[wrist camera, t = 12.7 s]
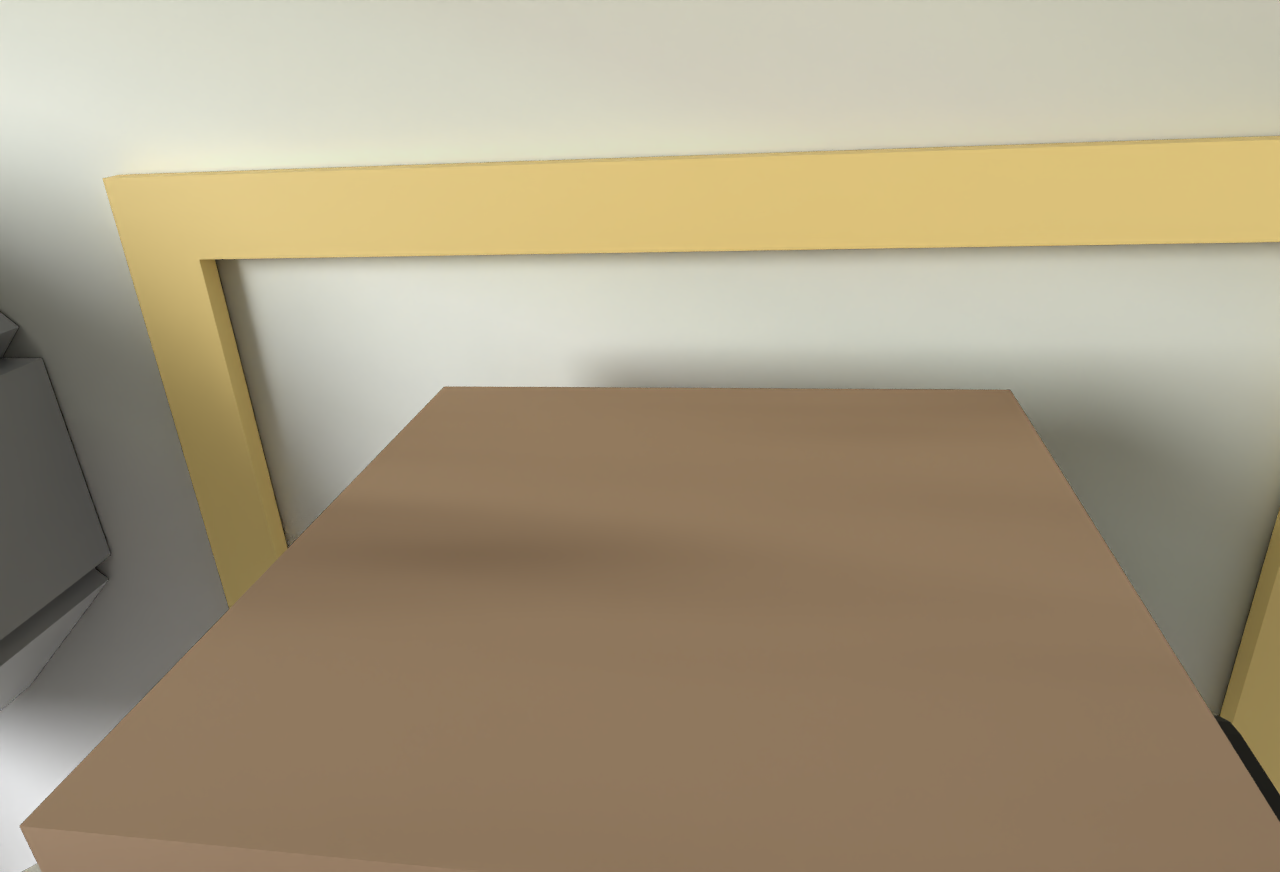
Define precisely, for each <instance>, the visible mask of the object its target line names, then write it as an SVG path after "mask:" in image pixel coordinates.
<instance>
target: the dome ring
mask: <svg viewBox="0 0 1280 872" xmlns="http://www.w3.org/2000/svg"><path fill="white" fill-rule="evenodd" d="M18 328H19V326H17V325H16V324H15V323H13V322H12V321H11V320H10V319H8V318H7V317H6V316H5V315H3V314H2V313H1V312H0V711H1V710H2V709H3V708H5V707H6V706H7V705H8V704H9V703H10V702H11V701H13V700H14V699H15V698H16V697H17V696H18V695H20V694H21V693H22V692H23V691H24V690H25V689H27V688H28V687H29V686H30V685H31V684H32V683H33V681H34V680H35V678H36V677H37V676H38V674H39V673H40V672H41V670H42V669H43V668H44V666H45V665H46V664H47V662H48V661H49V660H50V658H51V657H52V655H53V654H54V653H55V651H56V650H57V649H58V647H59V646H60V645H61V643H62V642H63V641H64V639H65V638H66V637H67V635H68V634H69V632H70V631H71V630H72V628H73V627H74V626H75V624H76V623H77V622H78V620H79V619H80V618H81V616H82V615H83V614H84V612H85V611H86V609H87V608H88V607H89V605H90V604H91V603H92V601H93V600H94V599H95V597H96V596H97V595H98V593H99V592H100V591H101V589H102V588H103V587H104V585H105V584H106V582H107V581H108V580H109V579H108V578H107V577H105V576H104V575H103V574H101V573H100V572H99V571H97V570H96V569H95V567H96V566H97V565H99V564H100V563H101V562H102V561H104V560H105V559H106V558H108V557H109V556H110V555H111V554H110V551H109V548H108V545H107V542H106V539H105V537H104V534H103V531H102V528H101V525H100V522H99V520H98V517H97V514H96V511H95V508H94V505H93V502H92V500H91V497H90V494H89V491H88V488H87V485H86V482H85V480H84V477H83V474H82V471H81V468H80V465H79V463H78V460H77V457H76V454H75V451H74V448H73V445H72V443H71V440H70V437H69V434H68V431H67V428H66V425H65V423H64V420H63V417H62V414H61V411H60V408H59V406H58V403H57V400H56V397H55V394H54V391H53V388H52V386H51V383H50V380H49V377H48V374H47V371H46V369H45V366H44V363H43V360H42V358H2V356H3V355H4V353H5V351H6V349H7V347H8V346H9V344H10V342H11V340H12V338H13V337H14V335H15V333H16V331H17V329H18Z"/></svg>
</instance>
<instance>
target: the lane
mask: <svg viewBox="0 0 1280 872" xmlns="http://www.w3.org/2000/svg"><path fill="white" fill-rule="evenodd" d="M103 182H104V185H105V189H106V192H107V195H108V199H109V202H110V206H111V209H112V212H113V216H114V219H115V223H116V226H117V229H118V233H119V236H120V240H121V243H122V246H123V250H124V253H125V257H126V260H127V263H128V267H129V270H130V274H131V277H132V280H133V284H134V287H135V291H136V294H137V297H138V301H139V304H140V308H141V311H142V314H143V318H144V321H145V325H146V328H147V331H148V335H149V338H150V342H151V345H152V348H153V352H154V355H155V359H156V362H157V365H158V369H159V372H160V376H161V379H162V382H163V386H164V389H165V393H166V396H167V399H168V403H169V406H170V409H171V413H172V416H173V420H174V423H175V426H176V430H177V433H178V437H179V440H180V443H181V447H182V450H183V454H184V457H185V460H186V464H187V467H188V471H189V474H190V477H191V481H192V484H193V488H194V491H195V494H196V498H197V501H198V505H199V508H200V511H201V515H202V518H203V522H204V525H205V528H206V532H207V535H208V539H209V542H210V545H211V549H212V552H213V556H214V559H215V562H216V566H217V569H218V573H219V576H220V579H221V583H222V586H223V590H224V593H225V596H226V600H227V603H228V607H229V609H230V608H231V607H232V606H233V605H234V604H235V602H236V601H237V600H238V599H239V598H240V597H241V596H242V595H243V594H244V593H245V592H246V591H247V590H248V589H249V588H250V587H251V586H252V585H253V584H254V583H255V582H256V581H257V580H258V579H259V578H260V577H261V576H262V575H263V574H264V572H265V571H266V570H267V569H268V568H269V567H270V566H271V565H272V564H273V563H274V562H275V561H276V560H277V559H278V558H279V557H280V556H281V555H282V554H283V553H284V552H285V551H286V550H287V549H288V548H287V544H286V540H285V536H284V532H283V528H282V524H281V520H280V516H279V512H278V508H277V504H276V500H275V496H274V492H273V488H272V484H271V480H270V476H269V472H268V468H267V464H266V460H265V456H264V453H263V449H262V445H261V441H260V437H259V433H258V429H257V425H256V421H255V417H254V413H253V409H252V405H251V401H250V397H249V393H248V389H247V385H246V381H245V377H244V373H243V369H242V365H241V361H240V357H239V353H238V349H237V345H236V341H235V338H234V334H233V330H232V326H231V322H230V318H229V314H228V310H227V306H226V302H225V298H224V294H223V290H222V286H221V282H220V278H219V274H218V270H217V266H216V262H215V259H262V258H323V257H384V256H445V255H507V254H568V253H629V252H690V251H751V250H812V249H873V248H935V247H996V246H1057V245H1118V244H1179V243H1240V242H1280V136H1261V137H1231V138H1201V139H1171V140H1142V141H1112V142H1082V143H1052V144H1023V145H993V146H963V147H933V148H904V149H874V150H844V151H814V152H785V153H755V154H725V155H695V156H666V157H636V158H606V159H576V160H547V161H517V162H487V163H457V164H428V165H398V166H368V167H338V168H309V169H279V170H249V171H219V172H190V173H160V174H130V175H117V176H112V177H107V178H103ZM1220 717H1222V718H1224V719H1226V720H1228V721H1229V722H1231V723H1232V724H1233V726H1234V727H1235V728H1236V729H1237V730H1238V732H1239V733H1240V734H1241V735H1242V737H1243V738H1244V740H1245V742H1246V743H1247V745H1248V746H1249V748H1250V749H1251V751H1252V752H1253V754H1254V755H1255V757H1256V759H1257V760H1258V762H1259V763H1260V765H1261V766H1262V768H1263V769H1264V771H1265V773H1266V774H1267V776H1268V777H1269V779H1270V780H1271V782H1272V783H1273V785H1274V787H1275V788H1276V790H1277V791H1278V793H1279V794H1280V509H1279V512H1278V516H1277V519H1276V522H1275V526H1274V529H1273V533H1272V536H1271V540H1270V543H1269V547H1268V550H1267V554H1266V557H1265V561H1264V564H1263V567H1262V571H1261V574H1260V578H1259V581H1258V585H1257V588H1256V592H1255V595H1254V599H1253V602H1252V606H1251V609H1250V612H1249V616H1248V619H1247V623H1246V626H1245V630H1244V633H1243V637H1242V640H1241V644H1240V647H1239V651H1238V654H1237V657H1236V661H1235V664H1234V668H1233V671H1232V675H1231V678H1230V682H1229V685H1228V689H1227V692H1226V695H1225V699H1224V702H1223V706H1222V709H1221V713H1220Z"/></svg>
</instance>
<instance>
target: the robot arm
mask: <svg viewBox="0 0 1280 872" xmlns="http://www.w3.org/2000/svg"><path fill="white" fill-rule="evenodd" d="M1214 717H1215V719H1216V721H1217V722H1218V724H1219V726H1220V727H1221V729H1222V730H1223V732H1224V734H1225V735H1226V737H1227V738H1228V740H1229V742H1230V743H1231V745H1232V746H1233V748H1234V750H1235V751H1236V753H1237V754H1238V756H1239V758H1240V759H1241V761H1242V762H1243V764H1244V766H1245V767H1246V769H1247V770H1248V772H1249V774H1250V775H1251V777H1252V778H1253V780H1254V782H1255V783H1256V785H1257V787H1258V788H1259V790H1260V791H1261V793H1262V795H1263V796H1264V798H1265V799H1266V801H1267V803H1268V804H1269V806H1270V807H1271V809H1272V811H1273V812H1274V814H1275V815H1276V817H1277V819H1278V820H1279V822H1280V794H1279V793H1278V791H1277V790H1276V788H1275V787H1274V785H1273V783H1272V782H1271V780H1270V779H1269V777H1268V776H1267V774H1266V773H1265V771H1264V769H1263V768H1262V766H1261V765H1260V763H1259V762H1258V760H1257V759H1256V757H1255V755H1254V754H1253V752H1252V751H1251V749H1250V748H1249V746H1248V745H1247V743H1246V742H1245V740H1244V738H1243V737H1242V735H1241V734H1240V733H1239V732H1238V730H1237V729H1236V728H1235V727H1234V726H1233V724H1232V723H1231V722H1229V721H1228V720H1226V719H1224V718H1222V717H1220V716H1214ZM22 872H41V870H40V868H39V865H38V863H37V864H35V865H33V866H31V867H30V868H28V869H26V870H24V871H22Z"/></svg>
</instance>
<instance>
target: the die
mask: <svg viewBox="0 0 1280 872" xmlns="http://www.w3.org/2000/svg"><path fill="white" fill-rule="evenodd" d="M20 828H21V830H22V832H23V834H24V836H25V839H26V841H27V843H28V845H29V847H30V849H31V851H32V853H33V855H34V857H35V859H36V861H37V863H38V865H39V868H40V870H41V872H1280V822H1279V820H1278V819H1277V817H1276V815H1275V814H1274V812H1273V811H1272V809H1271V807H1270V806H1269V804H1268V803H1267V801H1266V799H1265V798H1264V796H1263V795H1262V793H1261V791H1260V790H1259V788H1258V787H1257V785H1256V783H1255V782H1254V780H1253V778H1252V777H1251V775H1250V774H1249V772H1248V770H1247V769H1246V767H1245V766H1244V764H1243V762H1242V761H1241V759H1240V758H1239V756H1238V754H1237V753H1236V751H1235V750H1234V748H1233V746H1232V745H1231V743H1230V742H1229V740H1228V738H1227V737H1226V735H1225V734H1224V732H1223V730H1222V729H1221V727H1220V726H1219V724H1218V722H1217V721H1216V719H1215V717H1214V716H1213V714H1212V713H1211V711H1210V709H1209V708H1208V706H1207V705H1206V703H1205V701H1204V700H1203V698H1202V697H1201V695H1200V693H1199V692H1198V690H1197V689H1196V687H1195V685H1194V684H1193V682H1192V681H1191V679H1190V677H1189V676H1188V674H1187V673H1186V671H1185V669H1184V668H1183V666H1182V665H1181V663H1180V661H1179V660H1178V658H1177V657H1176V655H1175V653H1174V652H1173V650H1172V648H1171V647H1170V645H1169V644H1168V642H1167V640H1166V639H1165V637H1164V636H1163V634H1162V632H1161V631H1160V629H1159V628H1158V626H1157V624H1156V623H1155V621H1154V620H1153V618H1152V616H1151V615H1150V613H1149V612H1148V610H1147V608H1146V607H1145V605H1144V604H1143V602H1142V600H1141V599H1140V597H1139V596H1138V594H1137V592H1136V591H1135V589H1134V587H1133V586H1132V584H1131V583H1130V581H1129V579H1128V578H1127V576H1126V575H1125V573H1124V571H1123V570H1122V568H1121V567H1120V565H1119V563H1118V562H1117V560H1116V559H1115V557H1114V555H1113V554H1112V552H1111V551H1110V549H1109V547H1108V546H1107V544H1106V543H1105V541H1104V539H1103V538H1102V536H1101V535H1100V533H1099V531H1098V530H1097V528H1096V527H1095V525H1094V523H1093V522H1092V520H1091V518H1090V517H1089V515H1088V514H1087V512H1086V510H1085V509H1084V507H1083V506H1082V504H1081V502H1080V501H1079V499H1078V498H1077V496H1076V494H1075V493H1074V491H1073V490H1072V488H1071V486H1070V485H1069V483H1068V482H1067V480H1066V478H1065V477H1064V475H1063V474H1062V472H1061V470H1060V469H1059V467H1058V466H1057V464H1056V462H1055V461H1054V459H1053V457H1052V456H1051V454H1050V453H1049V451H1048V449H1047V448H1046V446H1045V445H1044V443H1043V441H1042V440H1041V438H1040V437H1039V435H1038V433H1037V432H1036V430H1035V429H1034V427H1033V425H1032V424H1031V422H1030V421H1029V419H1028V417H1027V416H1026V414H1025V413H1024V411H1023V409H1022V408H1021V406H1020V405H1019V403H1018V401H1017V400H1016V398H1015V397H1014V395H1013V393H1012V392H1011V390H955V389H780V388H605V387H443V388H442V389H441V390H440V391H439V392H438V394H437V395H436V396H435V397H434V398H433V399H432V400H431V401H430V402H429V403H428V404H427V405H426V406H425V407H424V408H423V409H422V410H421V411H420V412H419V413H418V414H417V415H416V416H415V417H414V418H413V419H412V420H411V421H410V422H409V424H408V425H407V426H406V427H405V428H404V429H403V430H402V431H401V432H400V433H399V434H398V435H397V436H396V437H395V438H394V439H393V440H392V441H391V442H390V443H389V444H388V445H387V446H386V447H385V448H384V449H383V450H382V451H381V452H380V454H379V455H378V456H377V457H376V458H375V459H374V460H373V461H372V462H371V463H370V464H369V465H368V466H367V467H366V468H365V469H364V470H363V471H362V472H361V473H360V474H359V475H358V476H357V477H356V478H355V479H354V480H353V481H352V482H351V484H350V485H349V486H348V487H347V488H346V489H345V490H344V491H343V492H342V493H341V494H340V495H339V496H338V497H337V498H336V499H335V500H334V501H333V502H332V503H331V504H330V505H329V506H328V507H327V508H326V509H325V510H324V511H323V512H322V514H321V515H320V516H319V517H318V518H317V519H316V520H315V521H314V522H313V523H312V524H311V525H310V526H309V527H308V528H307V529H306V530H305V531H304V532H303V533H302V534H301V535H300V536H299V537H298V538H297V539H296V540H295V541H294V542H293V544H292V545H291V546H290V547H289V548H288V549H287V550H286V551H285V552H284V553H283V554H282V555H281V556H280V557H279V558H278V559H277V560H276V561H275V562H274V563H273V564H272V565H271V566H270V567H269V568H268V569H267V570H266V571H265V572H264V574H263V575H262V576H261V577H260V578H259V579H258V580H257V581H256V582H255V583H254V584H253V585H252V586H251V587H250V588H249V589H248V590H247V591H246V592H245V593H244V594H243V595H242V596H241V597H240V598H239V599H238V600H237V601H236V602H235V604H234V605H233V606H232V607H231V608H230V609H229V610H228V611H227V612H226V613H225V614H224V615H223V616H222V617H221V618H220V619H219V620H218V621H217V622H216V623H215V624H214V625H213V626H212V627H211V628H210V629H209V630H208V631H207V632H206V634H205V635H204V636H203V637H202V638H201V639H200V640H199V641H198V642H197V643H196V644H195V645H194V646H193V647H192V648H191V649H190V650H189V651H188V652H187V653H186V654H185V655H184V656H183V657H182V658H181V659H180V660H179V661H178V662H177V664H176V665H175V666H174V667H173V668H172V669H171V670H170V671H169V672H168V673H167V674H166V675H165V676H164V677H163V678H162V679H161V680H160V681H159V682H158V683H157V684H156V685H155V686H154V687H153V688H152V689H151V690H150V691H149V692H148V694H147V695H146V696H145V697H144V698H143V699H142V700H141V701H140V702H139V703H138V704H137V705H136V706H135V707H134V708H133V709H132V710H131V711H130V712H129V713H128V714H127V715H126V716H125V717H124V718H123V719H122V720H121V721H120V722H119V724H118V725H117V726H116V727H115V728H114V729H113V730H112V731H111V732H110V733H109V734H108V735H107V736H106V737H105V738H104V739H103V740H102V741H101V742H100V743H99V744H98V745H97V746H96V747H95V748H94V749H93V750H92V751H91V752H90V754H89V755H88V756H87V757H86V758H85V759H84V760H83V761H82V762H81V763H80V764H79V765H78V766H77V767H76V768H75V769H74V770H73V771H72V772H71V773H70V774H69V775H68V776H67V777H66V778H65V779H64V780H63V781H62V782H61V784H60V785H59V786H58V787H57V788H56V789H55V790H54V791H53V792H52V793H51V794H50V795H49V796H48V797H47V798H46V799H45V800H44V801H43V802H42V803H41V804H40V805H39V806H38V807H37V808H36V809H35V810H34V811H33V812H32V814H31V815H30V816H29V817H28V818H27V819H26V820H25V821H24V822H23V823H22V824H21V825H20Z"/></svg>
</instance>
